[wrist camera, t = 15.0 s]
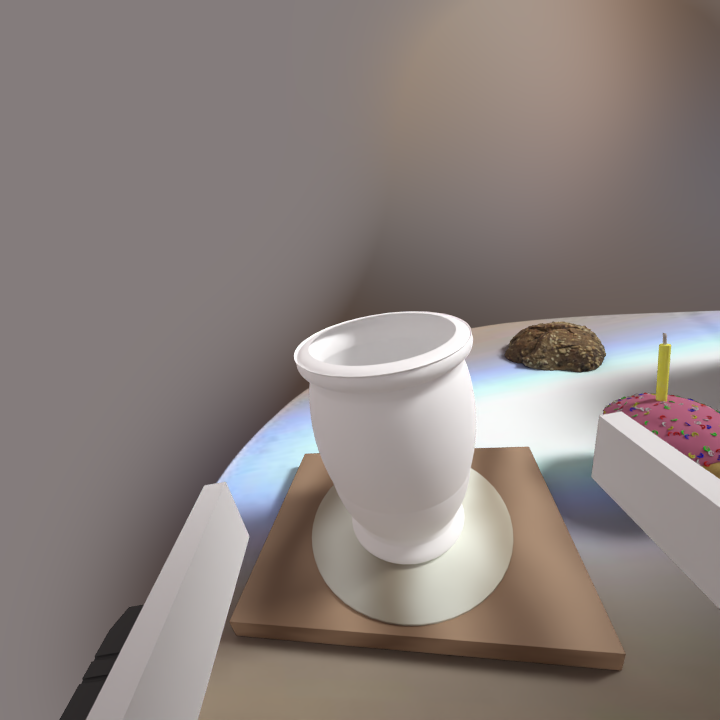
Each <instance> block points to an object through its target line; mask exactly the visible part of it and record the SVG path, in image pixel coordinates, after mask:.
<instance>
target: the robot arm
mask: <svg viewBox="0 0 720 720" xmlns="http://www.w3.org/2000/svg"><path fill="white" fill-rule="evenodd" d="M591 477H592V478H593V479H594V480H595V481H596V482H597V483H598V484H599V485H600V487H601V488H602V489H603V490H604V491H605V492H606V493H607V494H608V495H609V496H610V497H611V498H612V499H613V500H614V501H615V502H616V503H617V504H618V505H619V506H620V507H621V508H622V509H623V510H624V511H625V512H626V513H627V514H628V515H629V516H630V517H631V518H632V520H633V521H634V522H635V523H636V524H637V525H638V526H639V527H640V528H641V529H642V530H643V531H644V532H645V533H646V534H647V535H648V536H649V537H650V538H651V539H652V540H653V541H654V542H655V543H656V544H657V545H658V546H659V547H660V548H661V549H662V550H663V551H664V553H665V554H666V555H667V556H668V557H669V558H670V559H671V560H672V561H673V562H674V563H675V564H676V565H677V566H678V567H679V568H680V569H681V570H682V571H683V572H684V573H685V574H686V575H687V576H688V577H689V578H690V579H691V580H692V581H693V582H694V583H695V584H696V586H697V587H698V588H699V589H700V590H701V591H702V592H703V593H704V594H705V595H706V596H707V597H708V598H709V599H710V600H711V601H712V602H713V603H714V604H715V605H716V606H717V607H718V608H719V609H720V479H719V478H717V477H716V476H715V475H713V474H712V473H710V472H709V471H707V470H706V469H704V468H703V467H701V466H700V465H699V464H697V463H696V462H694V461H693V460H691V459H690V458H688V457H687V456H685V455H684V454H683V453H681V452H680V451H678V450H677V449H675V448H674V447H672V446H671V445H669V444H668V443H667V442H665V441H664V440H662V439H661V438H659V437H658V436H656V435H655V434H653V433H652V432H651V431H649V430H648V429H646V428H645V427H643V426H642V425H640V424H639V423H637V422H636V421H635V420H633V419H632V418H630V417H629V416H627V415H626V414H624V413H623V412H616V413H610V414H604V415H599V421H598V429H597V436H596V444H595V452H594V459H593V467H592V475H591ZM248 540H249V534H248V532H247V530H246V527H245V525H244V523H243V520H242V518H241V516H240V514H239V511H238V509H237V507H236V504H235V502H234V500H233V497H232V495H231V493H230V491H229V488H228V486H227V484H226V482H222V483H216V484H211V485H205V486H204V487H203V489H202V491H201V493H200V495H199V497H198V499H197V502H196V503H195V505H194V507H193V509H192V511H191V513H190V515H189V517H188V519H187V521H186V523H185V525H184V527H183V529H182V531H181V533H180V535H179V537H178V539H177V541H176V543H175V545H174V547H173V549H172V551H171V553H170V555H169V557H168V559H167V561H166V562H165V564H164V566H163V568H162V570H161V572H160V574H159V576H158V578H157V580H156V582H155V584H154V586H153V588H152V590H151V592H150V594H149V596H148V598H147V600H146V602H145V604H144V605H139V606H134V607H129V608H128V609H127V610H126V611H125V613H124V614H123V615H122V616H121V617H120V619H119V620H118V621H117V622H116V623H115V624H114V626H113V627H112V628H111V629H110V630H109V632H108V634H107V636H106V638H105V639H104V641H103V643H102V645H101V646H100V648H99V650H98V652H97V653H96V655H95V660H94V661H93V662H91V664H90V666H89V668H88V670H87V672H86V673H85V675H84V677H83V681H82V684H79V686H78V687H77V689H76V691H75V693H74V695H73V696H72V698H71V700H70V702H69V704H68V706H67V707H66V709H65V711H64V713H63V714H62V716H61V718H60V720H198V717H199V713H200V709H201V706H202V702H203V699H204V695H205V692H206V688H207V685H208V681H209V678H210V674H211V671H212V667H213V664H214V660H215V657H216V653H217V650H218V646H219V642H220V639H221V635H222V632H223V628H224V625H225V621H226V618H227V614H228V611H229V607H230V604H231V600H232V597H233V593H234V590H235V586H236V582H237V579H238V575H239V572H240V568H241V565H242V561H243V558H244V554H245V551H246V547H247V544H248Z"/></svg>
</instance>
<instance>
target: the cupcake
mask: <svg viewBox="0 0 720 720" xmlns="http://www.w3.org/2000/svg"><path fill="white" fill-rule="evenodd" d="M670 354H671V344H667V335H666V333H663V344H660V345H659V356H658V371H657V387H656V394H652V393H644V394H635V395H634V396H629V397H627V398H626V397H623V398H621V399H618V400H615V401H613V402H612V404H609V406H605V409H604V410H603V411H604V412H603V415H604V414H610V413H616V412H623V413H624V414H626V415H627V416H629V417H630V418H632V419H633V420H635V421H636V422H637V423H639V424H640V425H642V426H643V427H645V428H646V429H648V430H649V431H651V432H652V433H653V434H655V435H656V436H658V437H659V438H661V439H662V440H664V441H665V442H667V443H668V444H669V445H671V446H672V447H674V448H675V449H677V450H678V451H680V452H681V453H683V454H684V455H685V456H687V457H688V458H690V459H691V460H693V461H694V462H696V463H697V464H699V465H700V466H701V467H703V468H704V469H706V470H707V471H709V472H710V473H712V474H713V475H715V476H716V477H717V478H719V479H720V412H718V411H717V410H714V409H713V408H711V407H710V406H707V405H704V404H701V403H698V402H697V401H694V400H692V399H685V398H681V397H679V396H674V395H667V394H668V381H669V367H670ZM637 395H638V396H637Z"/></svg>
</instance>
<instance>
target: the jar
mask: <svg viewBox="0 0 720 720" xmlns="http://www.w3.org/2000/svg"><path fill="white" fill-rule="evenodd" d="M472 344H473V337H472V333H471V328H470V326H469V325H468V324H467V323H466V322H465V321H463V320H462V319H459V318H457V317H454V316H451V315H447V314H442V313H435V312H395V313H385V314H378V315H373V316H367V317H362V318H358V319H353V320H350V321H346V322H343V323H340V324H337V325H334V326H331V327H329V328H326V329H324V330H322V331H320V332H317V333H316V334H314V335H312V336H311V337H309V338H307V339H306V340H305V341H303V342H302V343H301V344H300V345H299V346H298V347H297V349H296V351H295V353H294V359H295V361H296V364H297V368H298V371H299V372H300V374H301V375H302V376H303V378H305V379H306V380H307V381H309V382H310V388H309V401H310V413H311V420H312V427H313V432H314V436H315V440H316V444H317V447H318V450H319V453H320V456H321V458H322V461H323V463H324V466H325V468H326V470H327V472H328V474H329V476H330V478H331V480H332V481H333V483H334V486H335V488H336V490H337V493H338V495H339V497H340V499H341V501H342V502H343V504H344V506H345V507H346V509H347V510H348V512H349V513H350V514H351V515H352V524H353V529H354V532H355V535H356V537H357V539H358V540H359V542H360V543H361V545H362V546H363V547H364V548H365V549H366V550H367V551H368V552H370V553H371V554H373V555H374V556H376V557H378V558H380V559H382V560H385V561H387V562H391V563H396V564H418V563H423V562H427V561H430V560H433V559H435V558H437V557H439V556H441V555H442V554H444V553H445V552H447V551H448V550H449V549H450V548H451V547H452V546H453V545H454V544H455V543H456V541H457V540H458V538H459V536H460V535H461V532H462V529H463V526H464V509H463V505H462V502H463V500H464V497H465V494H466V491H467V488H468V483H469V478H470V470H471V464H472V459H473V454H474V448H475V440H476V407H475V398H474V392H473V387H472V382H471V378H470V374H469V371H468V368H467V365H466V362H465V360H464V359H465V358H466V357H467V356H468V354H469V353H470V351H471V348H472Z"/></svg>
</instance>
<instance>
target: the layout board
mask: <svg viewBox="0 0 720 720" xmlns="http://www.w3.org/2000/svg"><path fill="white" fill-rule="evenodd" d="M462 505H463V509H464V526H463V529H462V532H461V535H460V536H459V538H458V540H457V541H456V543H455V544H454V545H453V546H452V547H451V548H450V549H449V550H448V551H447V552H445V553H444V554H442V555H441V556H439V557H437V558H435V559H433V560H430V561H427V562H423V563H418V564H396V563H391V562H387V561H385V560H382V559H380V558H378V557H376V556H374V555H373V554H371V553H370V552H368V551H367V550H366V549H365V548H364V547H363V546H362V545H361V543H360V542H359V540H358V539H357V537H356V535H355V532H354V529H353V524H352V515H351V514H350V513H349V512H348V510H347V509H346V507H345V506H344V504H343V502H342V501H341V499H340V497H339V495H338V493H337V490H336V488H335V486H334V483H333V481H332V480H331V478H330V476H329V474H328V472H327V470H326V468H325V466H324V463H323V461H322V458H321V456H320V453H314V454H305V455H304V457H303V460H302V462H301V464H300V466H299V468H298V471H297V473H296V475H295V477H294V479H293V482H292V484H291V486H290V488H289V491H288V493H287V495H286V497H285V499H284V502H283V504H282V506H281V508H280V510H279V513H278V515H277V517H276V519H275V521H274V524H273V526H272V528H271V530H270V533H269V535H268V537H267V539H266V541H265V544H264V546H263V548H262V550H261V552H260V555H259V557H258V559H257V561H256V564H255V566H254V568H253V570H252V572H251V575H250V577H249V579H248V581H247V583H246V586H245V588H244V590H243V592H242V594H241V597H240V599H239V601H238V603H237V606H236V608H235V610H234V612H233V614H232V617H231V619H230V621H229V622H230V624H231V626H232V628H233V630H234V632H235V634H236V636H246V637H257V638H268V639H279V640H290V641H301V642H312V643H323V644H334V645H345V646H357V647H368V648H379V649H390V650H401V651H412V652H423V653H434V654H445V655H456V656H467V657H478V658H489V659H500V660H511V661H522V662H533V663H544V664H555V665H567V666H578V667H589V668H600V669H611V670H622V666H623V663H624V659H625V655H626V653H625V651H624V649H623V647H622V645H621V643H620V641H619V638H618V636H617V634H616V632H615V630H614V628H613V626H612V624H611V621H610V619H609V617H608V615H607V613H606V611H605V609H604V606H603V604H602V602H601V600H600V598H599V596H598V594H597V591H596V589H595V587H594V585H593V583H592V581H591V579H590V576H589V574H588V572H587V570H586V568H585V566H584V564H583V561H582V559H581V557H580V555H579V553H578V551H577V549H576V547H575V544H574V542H573V540H572V538H571V536H570V534H569V532H568V529H567V527H566V525H565V523H564V521H563V519H562V517H561V514H560V512H559V510H558V508H557V506H556V504H555V502H554V499H553V497H552V495H551V493H550V491H549V489H548V487H547V485H546V482H545V480H544V478H543V476H542V474H541V472H540V470H539V467H538V465H537V463H536V461H535V459H534V457H533V455H532V452H531V450H530V448H529V447H505V448H474V454H473V459H472V464H471V470H470V478H469V483H468V488H467V491H466V494H465V497H464V500H463V502H462Z"/></svg>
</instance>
